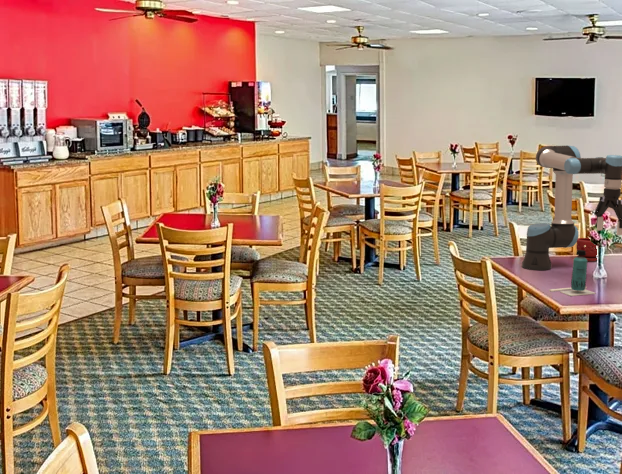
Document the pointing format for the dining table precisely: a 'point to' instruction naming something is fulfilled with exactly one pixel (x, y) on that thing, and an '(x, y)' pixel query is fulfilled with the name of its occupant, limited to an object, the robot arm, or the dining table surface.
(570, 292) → the mat
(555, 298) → the dining table surface
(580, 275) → the beverage bottle
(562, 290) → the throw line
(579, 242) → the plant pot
